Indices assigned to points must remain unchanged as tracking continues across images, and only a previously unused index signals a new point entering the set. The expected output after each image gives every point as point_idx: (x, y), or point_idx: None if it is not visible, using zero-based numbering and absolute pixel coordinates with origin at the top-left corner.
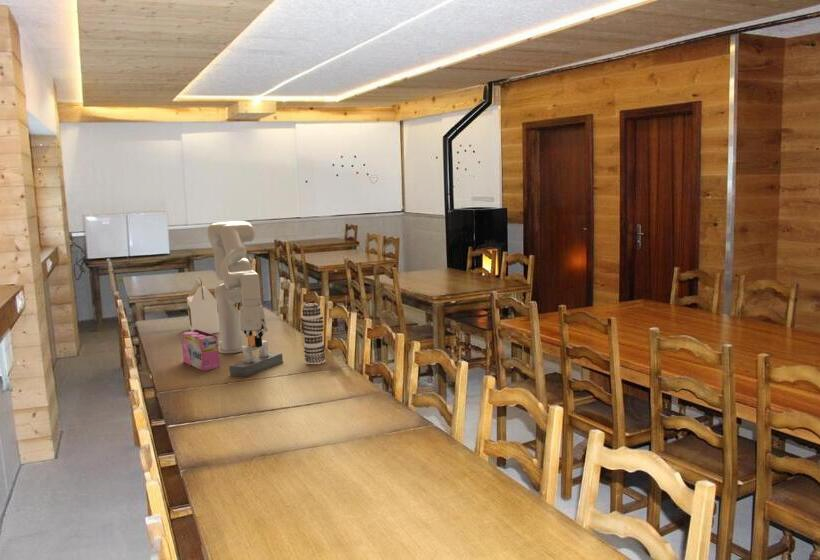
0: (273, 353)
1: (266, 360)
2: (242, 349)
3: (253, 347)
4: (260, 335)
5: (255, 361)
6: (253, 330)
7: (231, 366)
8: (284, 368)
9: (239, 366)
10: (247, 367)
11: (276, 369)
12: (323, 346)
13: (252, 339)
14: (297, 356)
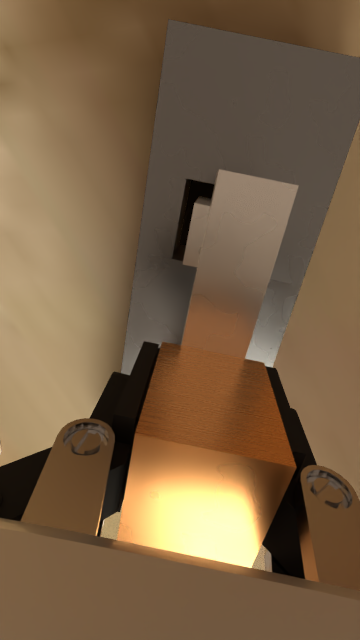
0: None
1: (128, 332)
2: (288, 185)
3: (185, 323)
4: (25, 461)
5: (181, 267)
6: (65, 535)
7: (352, 58)
8: (36, 322)
9: (251, 54)
10: (164, 69)
11: (71, 298)
12: None
13: (194, 398)
14: (111, 525)
